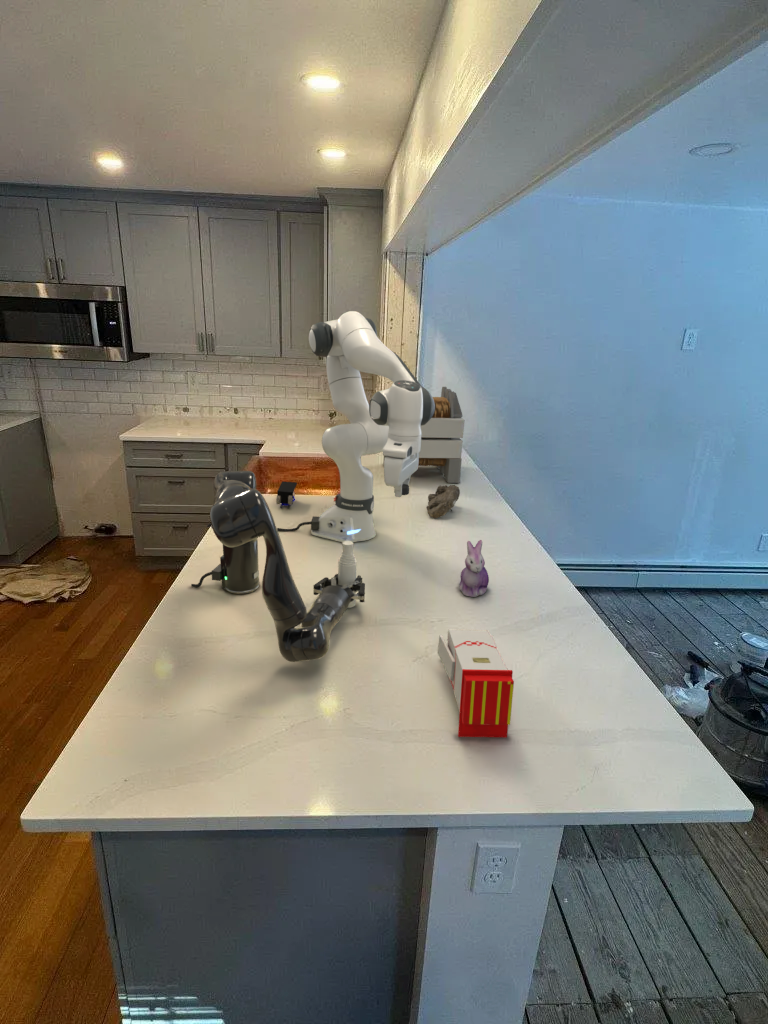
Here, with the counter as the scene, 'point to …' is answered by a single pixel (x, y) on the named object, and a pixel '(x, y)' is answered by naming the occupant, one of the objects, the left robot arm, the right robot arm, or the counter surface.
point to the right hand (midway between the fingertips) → (401, 493)
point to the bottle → (347, 567)
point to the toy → (478, 682)
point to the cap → (405, 489)
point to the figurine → (474, 572)
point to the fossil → (442, 500)
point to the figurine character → (286, 494)
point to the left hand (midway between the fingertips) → (349, 577)
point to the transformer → (443, 437)
